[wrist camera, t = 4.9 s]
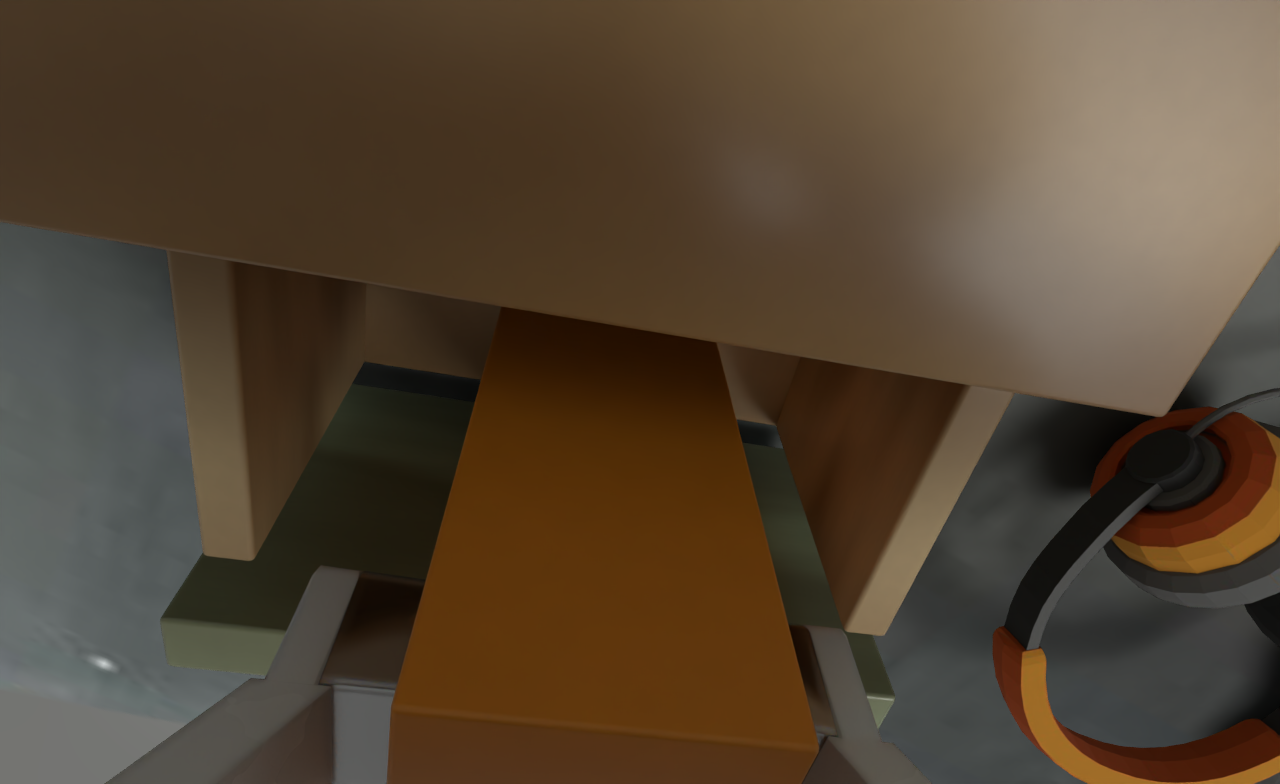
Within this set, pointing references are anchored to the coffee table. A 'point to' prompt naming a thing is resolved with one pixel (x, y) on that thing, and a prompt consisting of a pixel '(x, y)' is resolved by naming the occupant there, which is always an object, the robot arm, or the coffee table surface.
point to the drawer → (433, 439)
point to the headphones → (1162, 580)
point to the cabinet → (695, 165)
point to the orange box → (600, 580)
